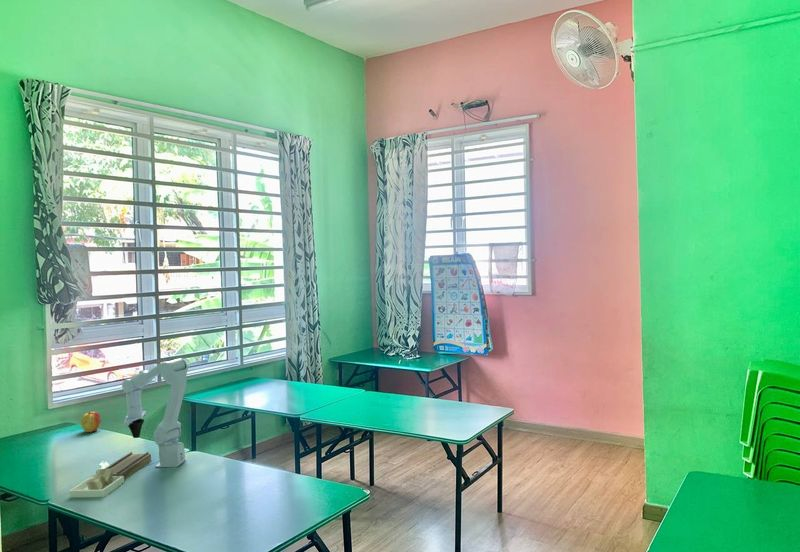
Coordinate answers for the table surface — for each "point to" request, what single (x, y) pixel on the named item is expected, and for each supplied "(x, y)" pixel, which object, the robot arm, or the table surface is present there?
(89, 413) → the apple
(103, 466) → the knife
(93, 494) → the tray
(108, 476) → the beige cube
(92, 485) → the chip front
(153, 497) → the table surface
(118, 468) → the slot block
